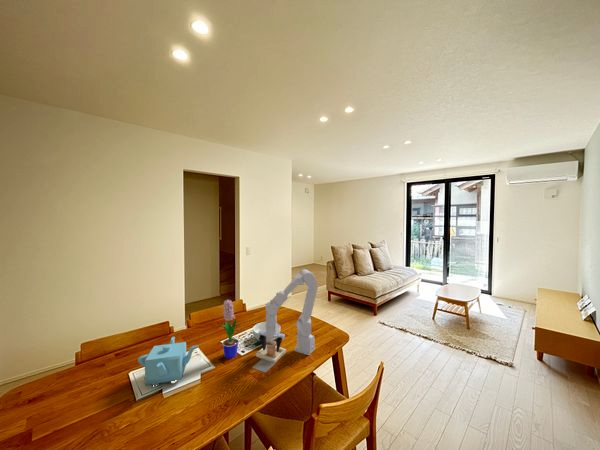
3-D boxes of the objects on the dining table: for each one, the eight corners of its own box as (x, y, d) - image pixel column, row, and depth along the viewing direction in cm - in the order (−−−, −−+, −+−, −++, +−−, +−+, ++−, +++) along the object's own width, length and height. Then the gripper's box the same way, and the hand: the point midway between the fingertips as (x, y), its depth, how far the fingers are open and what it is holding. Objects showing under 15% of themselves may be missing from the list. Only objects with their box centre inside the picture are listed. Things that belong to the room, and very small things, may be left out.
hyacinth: (237, 361, 119) (236, 303, 118) (218, 359, 121) (218, 301, 120) (244, 352, 128) (244, 297, 127) (227, 350, 130) (226, 296, 129)
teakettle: (134, 383, 104) (134, 350, 103) (175, 360, 120) (174, 332, 120) (159, 399, 94) (159, 363, 94) (199, 372, 111) (199, 341, 110)
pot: (278, 352, 126) (278, 341, 126) (272, 357, 122) (272, 346, 122) (270, 350, 129) (270, 339, 129) (264, 355, 124) (264, 343, 124)
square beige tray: (286, 352, 127) (286, 349, 127) (274, 363, 118) (274, 360, 118) (268, 346, 133) (268, 343, 133) (255, 357, 123) (255, 353, 123)
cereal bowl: (278, 346, 133) (278, 334, 133) (249, 346, 134) (249, 334, 133) (281, 332, 150) (281, 321, 150) (255, 331, 151) (255, 321, 150)
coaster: (275, 364, 117) (275, 363, 117) (265, 373, 110) (265, 372, 110) (262, 359, 121) (262, 358, 121) (252, 368, 114) (252, 367, 114)
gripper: (286, 323, 127) (286, 348, 127) (261, 320, 130) (261, 344, 131) (282, 329, 120) (282, 355, 120) (256, 326, 124) (256, 351, 124)
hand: (271, 350), depth 125 cm, fingers open, 7 cm apart
